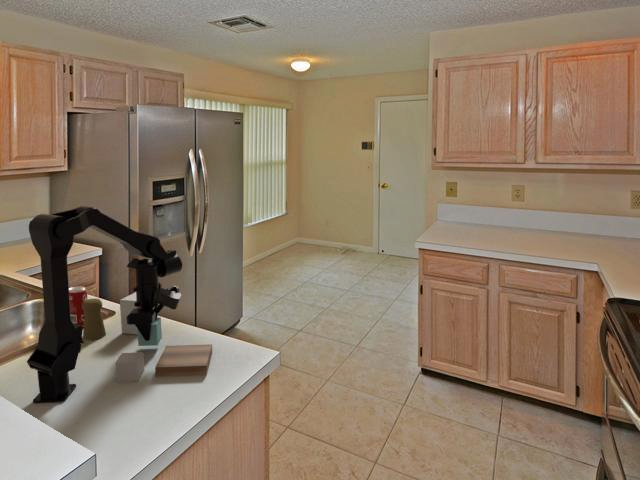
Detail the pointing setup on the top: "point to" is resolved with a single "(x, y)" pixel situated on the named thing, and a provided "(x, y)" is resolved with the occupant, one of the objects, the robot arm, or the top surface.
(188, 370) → the walnut block
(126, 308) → the small box
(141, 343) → the teal block
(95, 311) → the cork
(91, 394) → the top surface
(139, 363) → the grey block
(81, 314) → the soda can
